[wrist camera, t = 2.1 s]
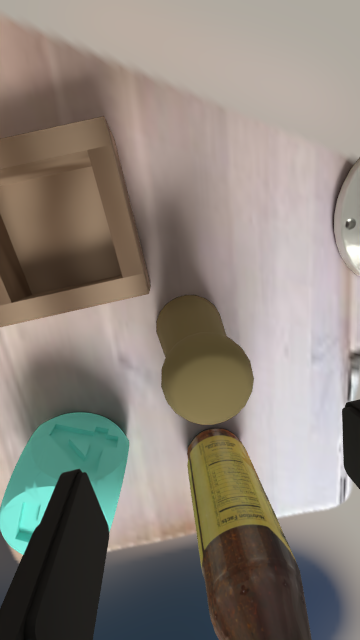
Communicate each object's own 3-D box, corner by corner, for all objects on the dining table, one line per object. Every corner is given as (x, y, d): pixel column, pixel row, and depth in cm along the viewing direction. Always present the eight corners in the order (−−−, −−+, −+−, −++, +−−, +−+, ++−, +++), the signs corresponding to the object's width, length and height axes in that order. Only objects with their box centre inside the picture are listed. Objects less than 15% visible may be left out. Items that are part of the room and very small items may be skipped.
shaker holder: (114, 140, 19) (103, 116, 15) (150, 285, 22) (148, 293, 18) (-32, 172, 19) (-78, 155, 15) (26, 313, 22) (-1, 327, 18)
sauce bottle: (229, 475, 29) (361, 922, 10) (177, 464, 28) (213, 937, 9) (252, 429, 27) (465, 856, 8) (198, 415, 26) (299, 864, 7)
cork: (176, 282, 22) (190, 317, 12) (233, 314, 23) (293, 371, 13) (144, 340, 23) (131, 418, 13) (200, 367, 25) (230, 458, 14)
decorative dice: (52, 403, 25) (4, 474, 17) (133, 420, 26) (122, 494, 18) (38, 467, 27) (-10, 556, 19) (114, 480, 28) (97, 569, 20)
